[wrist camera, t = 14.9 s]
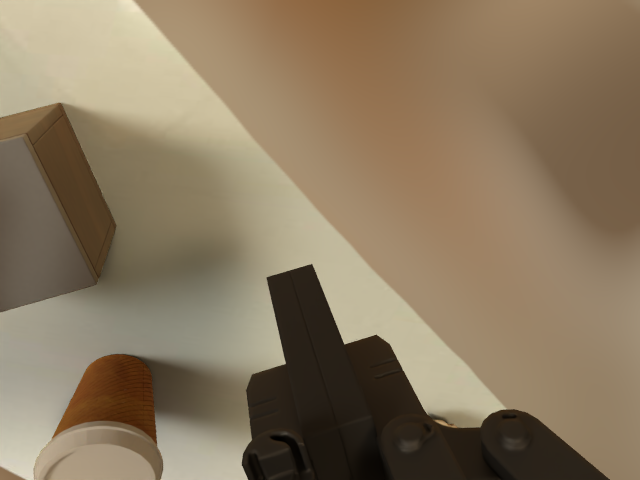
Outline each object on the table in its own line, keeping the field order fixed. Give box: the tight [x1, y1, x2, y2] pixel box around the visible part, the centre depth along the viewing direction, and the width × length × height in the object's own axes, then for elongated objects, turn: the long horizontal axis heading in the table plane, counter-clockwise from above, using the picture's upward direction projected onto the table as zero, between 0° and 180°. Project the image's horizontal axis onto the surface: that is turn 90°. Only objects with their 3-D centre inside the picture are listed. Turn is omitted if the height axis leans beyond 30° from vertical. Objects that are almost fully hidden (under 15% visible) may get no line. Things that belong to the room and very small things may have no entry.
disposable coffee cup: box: [34, 354, 163, 480], centre depth 45 cm, size 10×10×12 cm
